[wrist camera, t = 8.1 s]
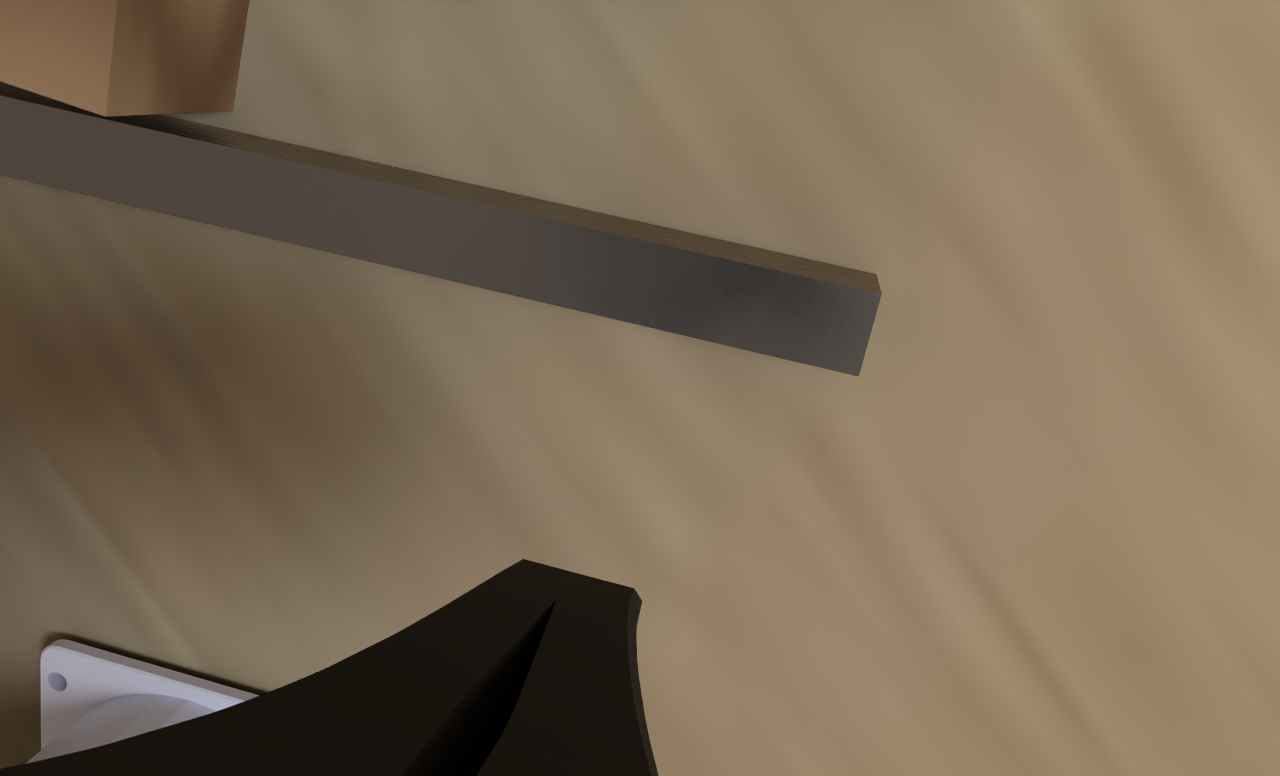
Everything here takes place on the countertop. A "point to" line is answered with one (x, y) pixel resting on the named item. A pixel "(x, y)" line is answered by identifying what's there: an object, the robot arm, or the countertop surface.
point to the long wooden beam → (125, 53)
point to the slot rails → (448, 229)
